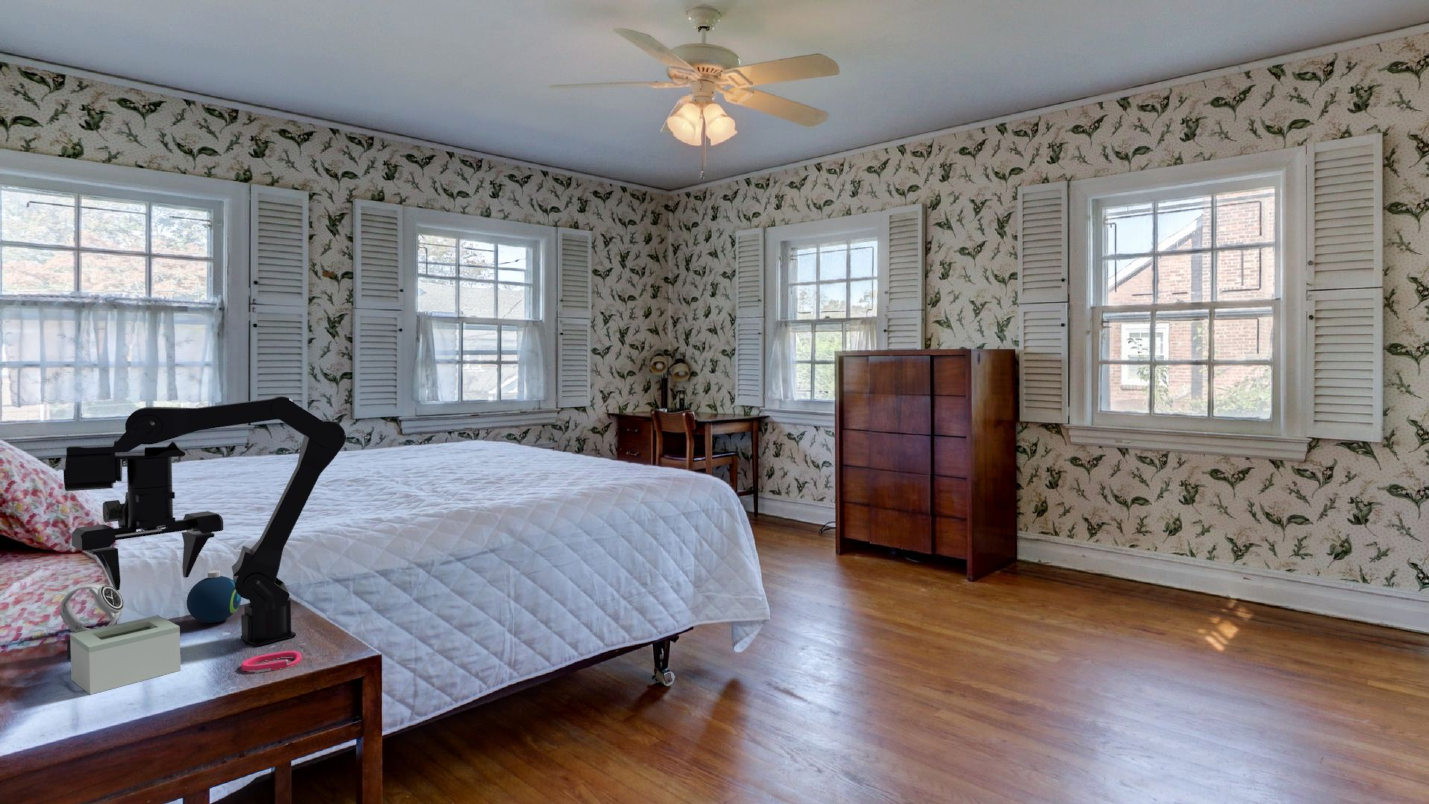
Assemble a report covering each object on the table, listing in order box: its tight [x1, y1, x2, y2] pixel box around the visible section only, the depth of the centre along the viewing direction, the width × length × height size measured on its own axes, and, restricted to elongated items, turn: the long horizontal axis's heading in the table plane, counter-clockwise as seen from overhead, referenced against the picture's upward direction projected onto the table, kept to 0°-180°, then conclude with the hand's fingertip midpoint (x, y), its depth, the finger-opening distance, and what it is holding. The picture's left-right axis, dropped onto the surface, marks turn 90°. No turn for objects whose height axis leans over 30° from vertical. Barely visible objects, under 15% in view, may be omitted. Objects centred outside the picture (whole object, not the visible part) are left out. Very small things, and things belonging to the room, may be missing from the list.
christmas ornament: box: [186, 567, 242, 624], centre depth 139 cm, size 8×8×10 cm
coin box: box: [69, 615, 182, 695], centre depth 114 cm, size 11×9×7 cm
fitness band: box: [241, 650, 302, 674], centre depth 118 cm, size 8×6×2 cm
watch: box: [59, 582, 125, 660], centre depth 123 cm, size 6×8×11 cm
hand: (152, 583), depth 121 cm, fingers open, 9 cm apart
